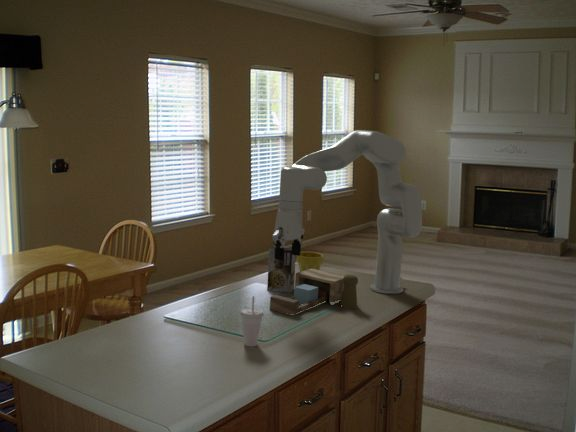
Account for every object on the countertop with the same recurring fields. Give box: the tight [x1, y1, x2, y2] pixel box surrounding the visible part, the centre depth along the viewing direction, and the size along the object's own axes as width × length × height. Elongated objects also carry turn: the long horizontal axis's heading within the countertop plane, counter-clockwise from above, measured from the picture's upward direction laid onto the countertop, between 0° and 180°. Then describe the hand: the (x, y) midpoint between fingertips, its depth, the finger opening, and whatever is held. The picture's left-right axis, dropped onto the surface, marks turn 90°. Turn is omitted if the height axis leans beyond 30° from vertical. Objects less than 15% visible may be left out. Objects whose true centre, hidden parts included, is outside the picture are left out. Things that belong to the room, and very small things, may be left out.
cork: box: [339, 274, 359, 310], centre depth 227 cm, size 6×6×11 cm
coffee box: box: [266, 244, 297, 294], centre depth 243 cm, size 9×6×16 cm
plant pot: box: [296, 251, 324, 272], centre depth 263 cm, size 10×10×10 cm
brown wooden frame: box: [269, 290, 328, 315], centre depth 224 cm, size 21×9×4 cm, turn 146°
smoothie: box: [240, 296, 264, 347], centre depth 184 cm, size 6×6×14 cm
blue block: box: [293, 284, 318, 304], centre depth 228 cm, size 6×6×6 cm
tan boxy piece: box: [294, 269, 346, 303], centre depth 236 cm, size 10×16×8 cm, turn 56°
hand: (287, 257), depth 215 cm, fingers open, 9 cm apart
